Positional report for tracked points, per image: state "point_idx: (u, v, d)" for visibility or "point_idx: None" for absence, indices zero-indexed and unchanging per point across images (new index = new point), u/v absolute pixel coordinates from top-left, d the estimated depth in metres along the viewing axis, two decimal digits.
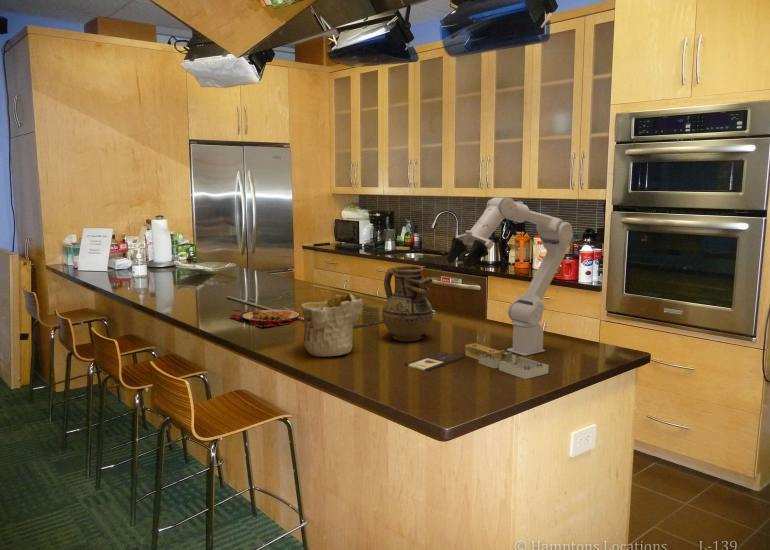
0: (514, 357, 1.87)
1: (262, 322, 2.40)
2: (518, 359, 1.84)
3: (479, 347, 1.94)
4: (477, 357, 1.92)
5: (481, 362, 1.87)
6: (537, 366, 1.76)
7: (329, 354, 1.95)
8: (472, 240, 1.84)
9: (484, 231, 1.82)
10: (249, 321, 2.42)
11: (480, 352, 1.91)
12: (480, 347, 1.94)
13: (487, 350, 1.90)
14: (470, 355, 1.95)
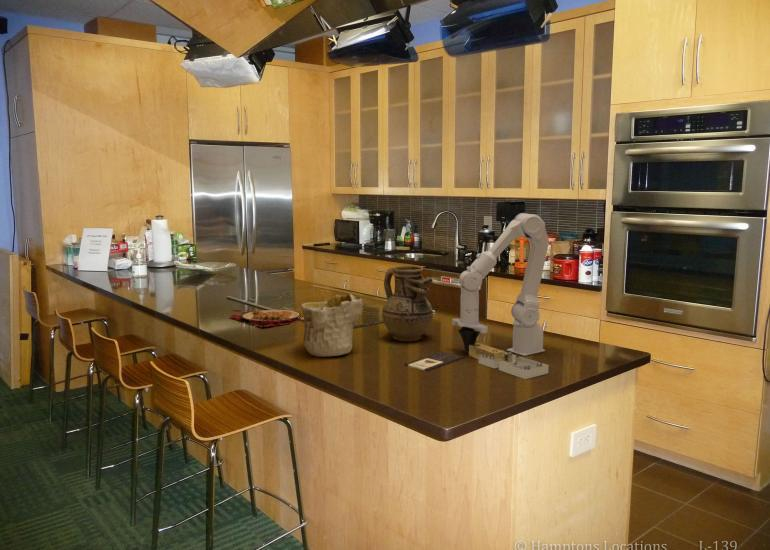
0: (514, 357, 1.87)
1: (262, 322, 2.40)
2: (518, 359, 1.84)
3: (483, 347, 1.93)
4: None
5: (481, 362, 1.87)
6: (537, 366, 1.76)
7: (329, 354, 1.95)
8: None
9: (472, 316, 1.94)
10: (249, 321, 2.42)
11: (483, 352, 1.90)
12: (483, 347, 1.93)
13: (490, 350, 1.89)
14: (473, 355, 1.94)
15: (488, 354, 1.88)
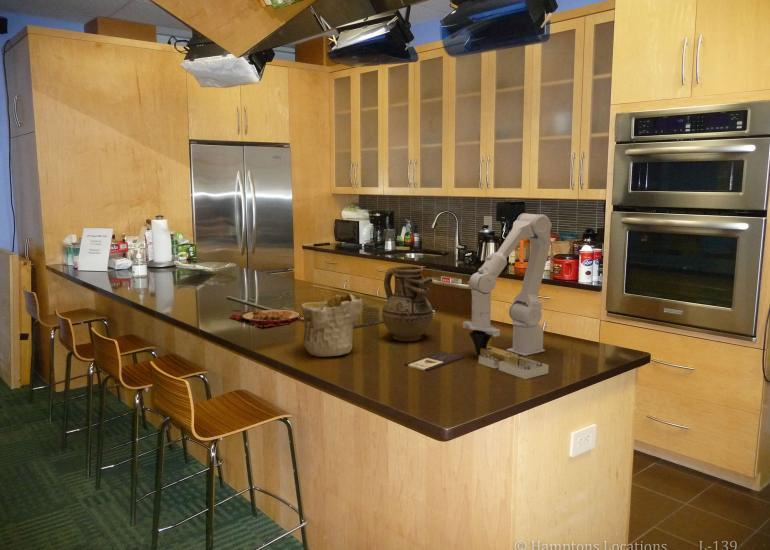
0: None
1: (262, 322, 2.40)
2: (518, 359, 1.84)
3: (495, 350, 1.89)
4: None
5: (481, 362, 1.87)
6: (537, 366, 1.76)
7: (329, 354, 1.95)
8: None
9: (484, 319, 1.89)
10: (249, 321, 2.42)
11: (496, 356, 1.86)
12: (496, 350, 1.89)
13: (504, 353, 1.85)
14: None
15: (502, 358, 1.84)
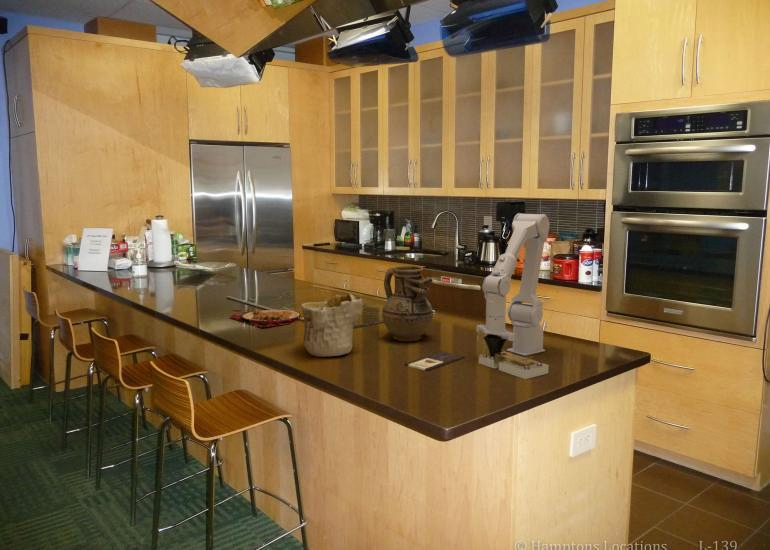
0: None
1: (262, 322, 2.40)
2: None
3: (511, 355, 1.84)
4: None
5: (481, 362, 1.87)
6: (537, 366, 1.76)
7: (329, 354, 1.95)
8: None
9: (499, 323, 1.84)
10: (249, 321, 2.42)
11: (511, 361, 1.81)
12: (511, 356, 1.84)
13: (520, 359, 1.80)
14: None
15: (518, 363, 1.79)
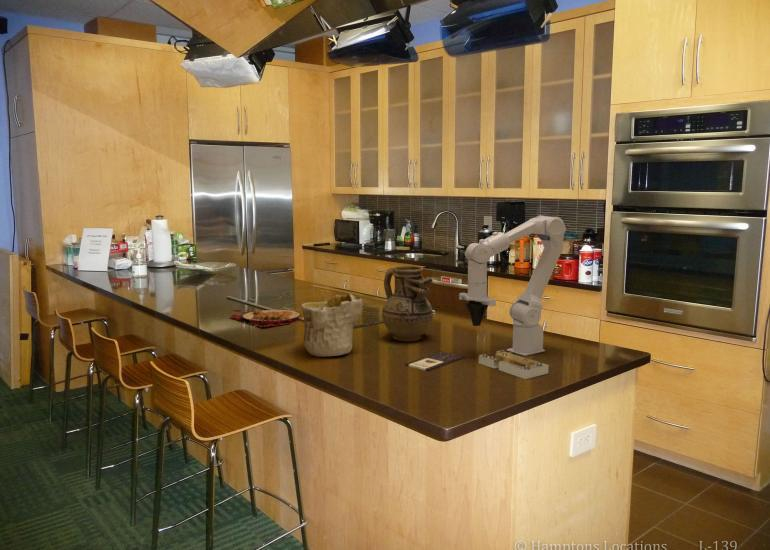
0: None
1: (262, 322, 2.40)
2: None
3: (511, 356, 1.84)
4: None
5: (481, 362, 1.87)
6: (537, 366, 1.76)
7: (329, 354, 1.95)
8: None
9: (480, 289, 1.90)
10: (249, 321, 2.42)
11: (512, 362, 1.81)
12: (511, 356, 1.83)
13: (520, 359, 1.80)
14: None
15: (518, 364, 1.79)
